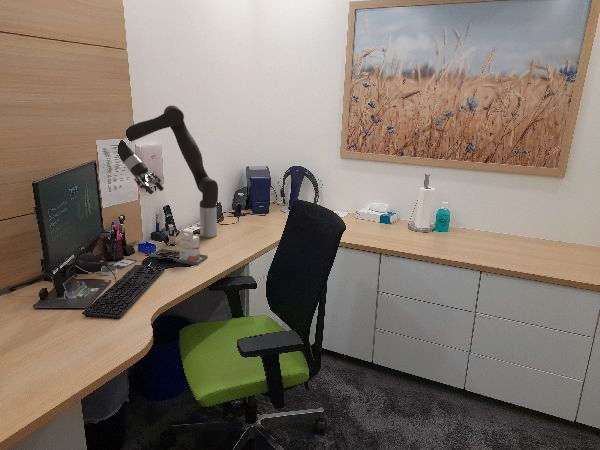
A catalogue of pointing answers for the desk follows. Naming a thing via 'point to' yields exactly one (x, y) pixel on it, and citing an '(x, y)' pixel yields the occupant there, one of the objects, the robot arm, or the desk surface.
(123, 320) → the desk surface
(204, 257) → the jack panel
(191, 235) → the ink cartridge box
